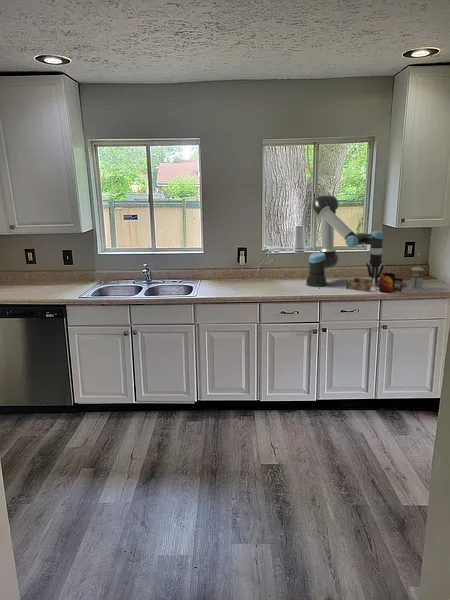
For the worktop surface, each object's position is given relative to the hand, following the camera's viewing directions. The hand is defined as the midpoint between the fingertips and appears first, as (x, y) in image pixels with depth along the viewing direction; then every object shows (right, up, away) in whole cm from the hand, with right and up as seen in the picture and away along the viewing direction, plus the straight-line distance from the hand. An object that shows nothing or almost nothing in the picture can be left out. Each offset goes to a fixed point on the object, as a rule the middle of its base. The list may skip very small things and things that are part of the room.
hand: (374, 286), depth 303 cm
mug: (+9, -4, -6) cm, 11 cm away
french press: (+29, -2, 0) cm, 29 cm away
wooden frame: (-6, -1, +5) cm, 8 cm away
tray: (+15, +1, +11) cm, 19 cm away
